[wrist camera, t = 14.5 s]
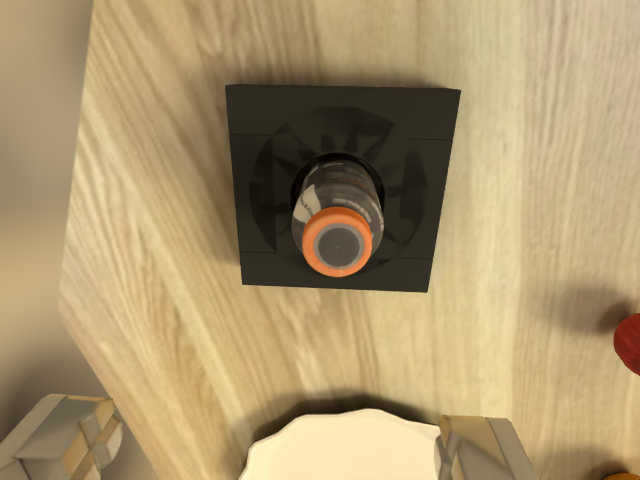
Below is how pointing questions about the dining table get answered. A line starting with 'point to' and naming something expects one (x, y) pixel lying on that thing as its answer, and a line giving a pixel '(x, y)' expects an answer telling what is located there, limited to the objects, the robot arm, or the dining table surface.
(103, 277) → the dining table surface
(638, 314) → the onion
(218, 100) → the dining table surface
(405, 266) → the socket pad
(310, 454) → the plate
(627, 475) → the apple
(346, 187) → the pill bottle
